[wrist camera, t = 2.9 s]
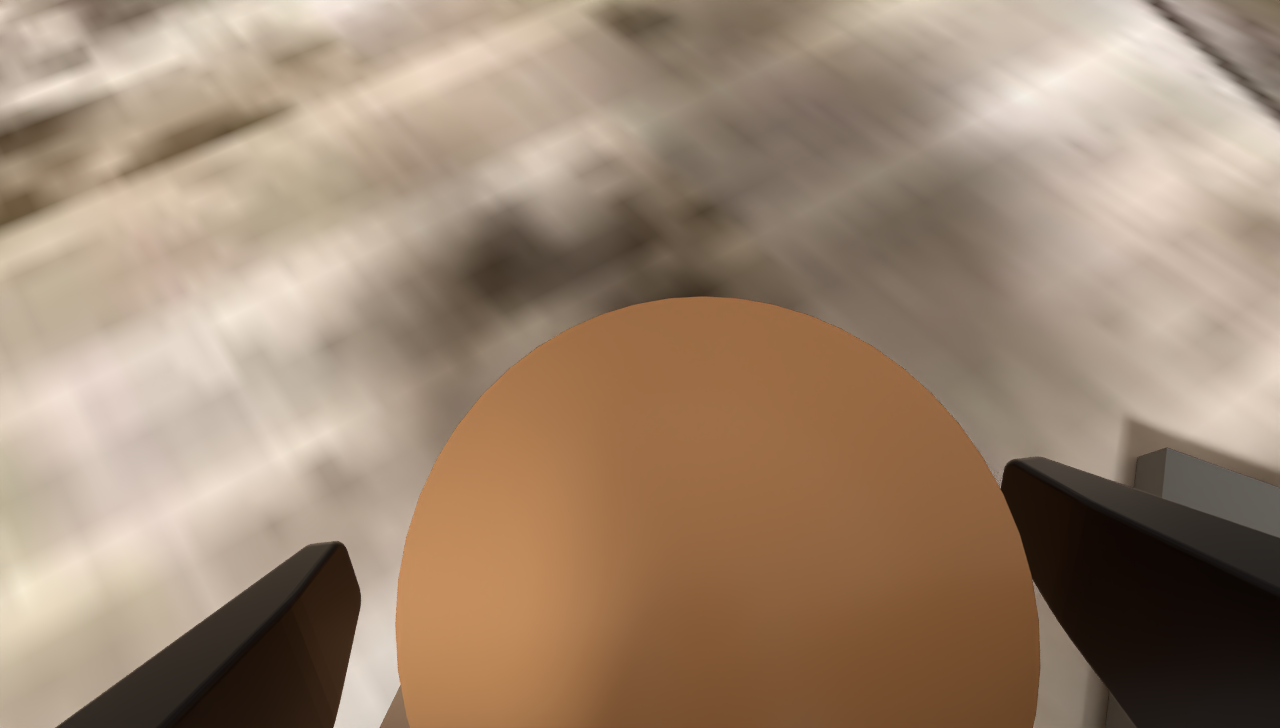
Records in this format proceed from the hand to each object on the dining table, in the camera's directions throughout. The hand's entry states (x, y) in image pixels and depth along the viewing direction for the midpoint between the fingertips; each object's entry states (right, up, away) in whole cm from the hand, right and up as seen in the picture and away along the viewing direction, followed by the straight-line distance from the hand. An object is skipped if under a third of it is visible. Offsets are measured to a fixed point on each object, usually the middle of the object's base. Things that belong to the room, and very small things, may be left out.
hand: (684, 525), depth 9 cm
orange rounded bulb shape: (0, -3, +5) cm, 6 cm away
